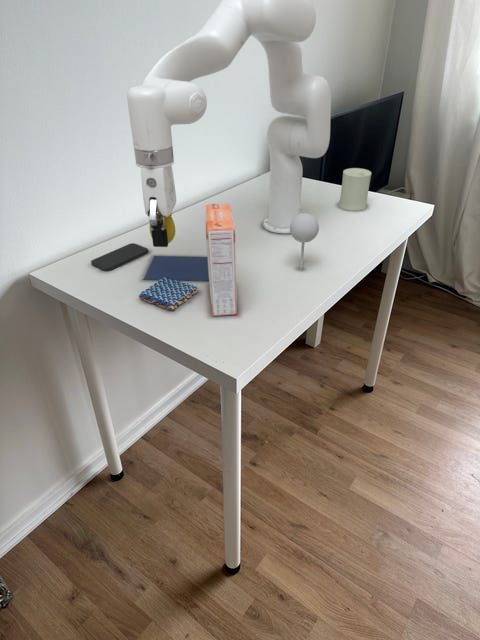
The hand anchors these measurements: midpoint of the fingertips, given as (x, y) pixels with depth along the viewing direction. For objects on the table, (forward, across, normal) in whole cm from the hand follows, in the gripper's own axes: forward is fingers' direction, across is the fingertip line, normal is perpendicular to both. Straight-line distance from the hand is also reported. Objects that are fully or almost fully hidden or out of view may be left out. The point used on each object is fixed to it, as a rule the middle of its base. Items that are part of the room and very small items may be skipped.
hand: (163, 239), depth 100 cm
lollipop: (+15, +14, -32) cm, 38 cm away
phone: (+14, +18, +17) cm, 29 cm away
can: (+15, +60, -52) cm, 81 cm away
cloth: (+14, +13, -1) cm, 19 cm away
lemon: (+2, 0, 0) cm, 2 cm away
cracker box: (+15, -2, -13) cm, 19 cm away
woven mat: (+15, -1, 0) cm, 15 cm away
